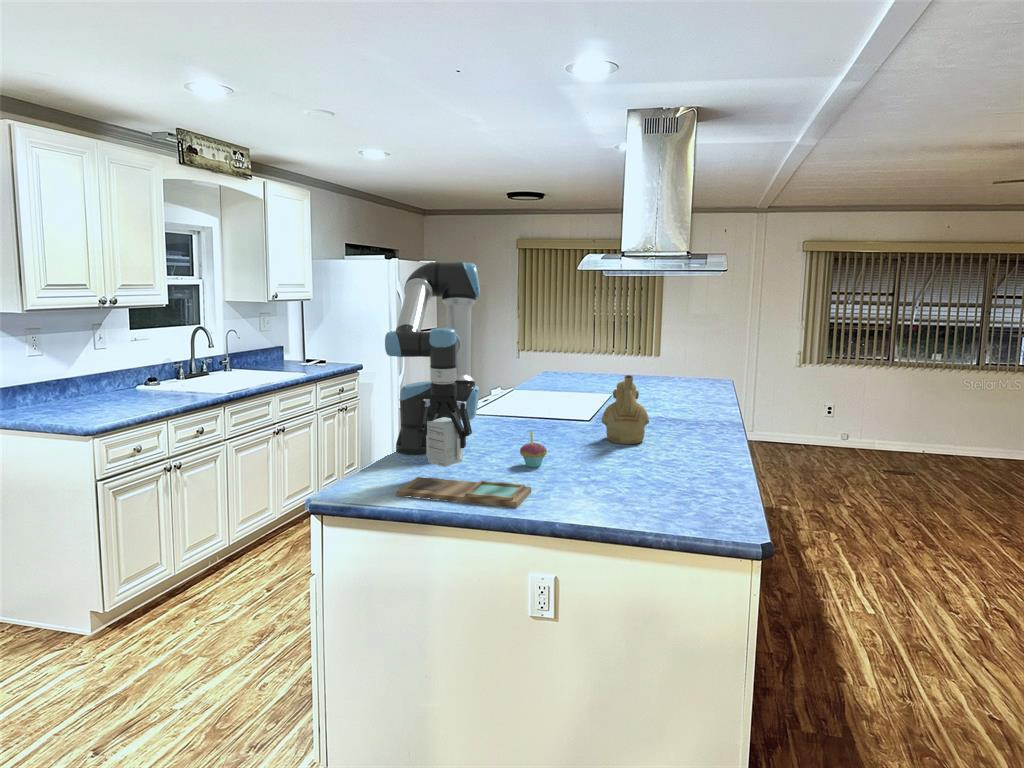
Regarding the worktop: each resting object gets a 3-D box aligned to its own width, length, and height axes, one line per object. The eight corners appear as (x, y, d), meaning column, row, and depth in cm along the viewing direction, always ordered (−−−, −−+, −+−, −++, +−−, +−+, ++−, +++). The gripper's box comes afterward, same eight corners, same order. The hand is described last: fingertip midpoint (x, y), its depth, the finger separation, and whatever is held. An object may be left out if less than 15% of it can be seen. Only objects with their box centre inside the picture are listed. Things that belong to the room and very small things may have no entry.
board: (396, 496, 191) (396, 487, 191) (417, 482, 205) (417, 474, 204) (516, 507, 182) (516, 499, 181) (531, 492, 195) (531, 484, 195)
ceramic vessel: (646, 435, 267) (647, 369, 263) (650, 447, 247) (653, 376, 244) (600, 434, 268) (601, 369, 265) (601, 446, 249) (603, 376, 245)
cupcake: (542, 469, 218) (542, 431, 216) (515, 467, 221) (516, 429, 219) (549, 463, 226) (550, 426, 224) (524, 460, 229) (524, 424, 227)
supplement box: (444, 457, 214) (444, 416, 212) (462, 461, 209) (462, 420, 207) (427, 462, 208) (426, 420, 206) (445, 467, 204) (444, 424, 201)
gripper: (403, 382, 204) (405, 457, 208) (474, 386, 198) (475, 463, 202) (414, 378, 211) (416, 451, 215) (483, 381, 205) (483, 456, 209)
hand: (444, 457), depth 208 cm, fingers closed on supplement box, 9 cm apart
